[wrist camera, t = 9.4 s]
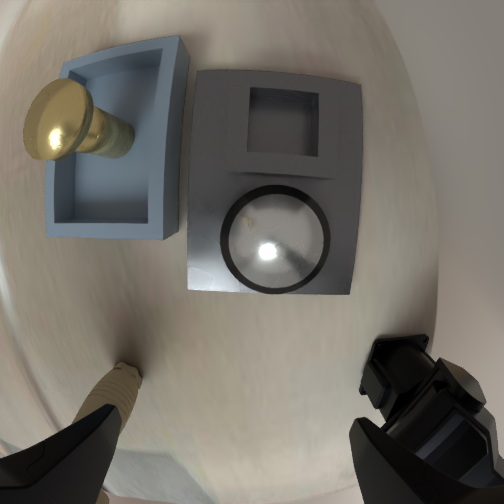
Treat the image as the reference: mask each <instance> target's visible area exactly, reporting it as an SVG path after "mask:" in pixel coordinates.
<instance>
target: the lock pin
mask: <svg viewBox="0 0 504 504" xmlns="http://www.w3.org/2000/svg"><path fill="white" fill-rule="evenodd" d="M23 139H24V145H25V148H26V150H27V152H28V154H29V155H30V156H31V157H33V158H34V159H37V160H46V161H60V160H63V159H65V158H67V157H68V156H70V155H71V154H72V153H74V152H80V153H85V154H91V155H96V156H101V157H106V158H111V159H118V158H121V157H123V156H124V155H126V154H127V153H128V152H129V151H130V149H131V148H132V146H133V143H134V139H135V133H134V129H133V127H132V126H131V125H130V124H129V123H128V122H126V121H124V120H122V119H120V118H118V117H116V116H114V115H112V114H110V113H108V112H106V111H104V110H102V109H100V108H98V107H96V106H94V103H93V98H92V95H91V93H90V91H89V90H88V89H87V88H86V87H84V86H82V85H81V84H79V83H77V82H75V81H73V80H71V79H68V78H61V79H57V80H55V81H53V82H51V83H49V84H48V85H47V86H46V87H44V88H43V89H42V90H41V91H40V93H39V94H38V95H37V96H36V98H35V99H34V101H33V102H32V104H31V106H30V108H29V110H28V113H27V116H26V119H25V123H24V129H23Z"/></svg>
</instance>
